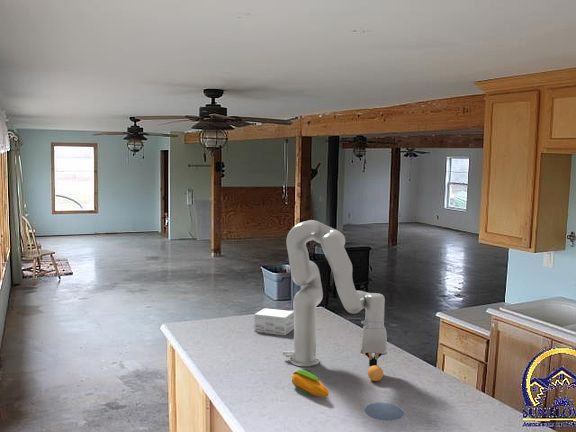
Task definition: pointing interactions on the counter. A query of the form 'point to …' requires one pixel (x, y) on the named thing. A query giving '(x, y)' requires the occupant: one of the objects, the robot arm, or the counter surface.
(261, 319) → the supplement box
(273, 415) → the counter surface
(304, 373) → the corn
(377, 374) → the ball
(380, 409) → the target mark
